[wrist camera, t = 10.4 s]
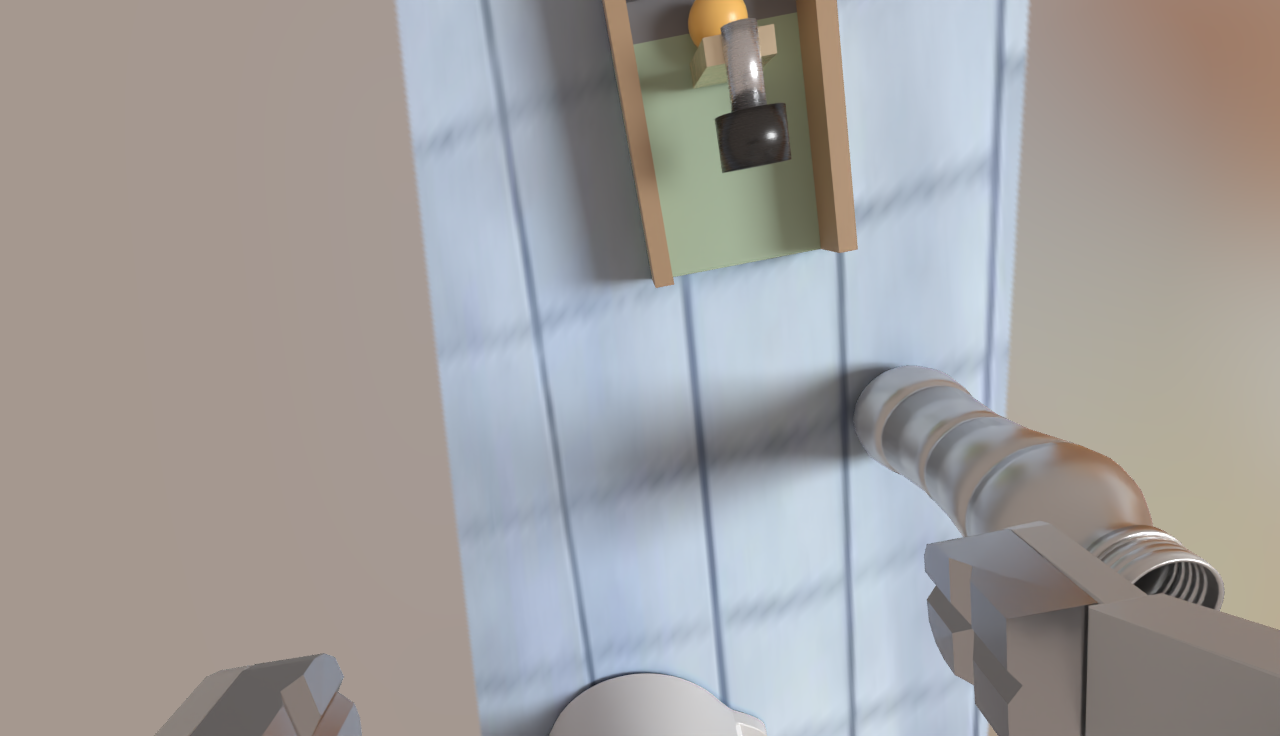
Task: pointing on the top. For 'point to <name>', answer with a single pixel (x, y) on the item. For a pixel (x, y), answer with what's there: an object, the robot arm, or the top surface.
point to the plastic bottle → (1021, 480)
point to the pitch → (688, 148)
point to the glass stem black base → (743, 95)
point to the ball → (713, 17)
